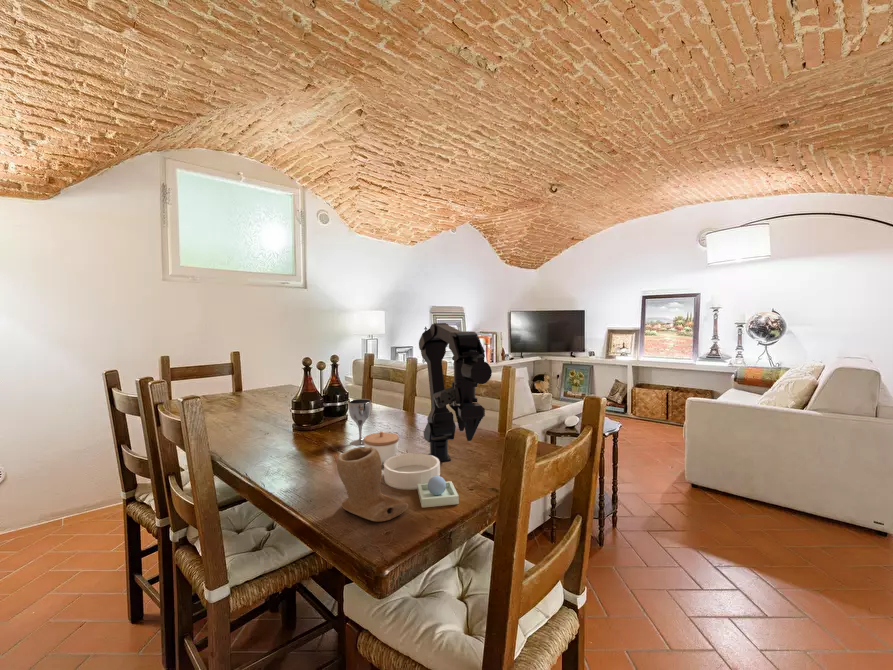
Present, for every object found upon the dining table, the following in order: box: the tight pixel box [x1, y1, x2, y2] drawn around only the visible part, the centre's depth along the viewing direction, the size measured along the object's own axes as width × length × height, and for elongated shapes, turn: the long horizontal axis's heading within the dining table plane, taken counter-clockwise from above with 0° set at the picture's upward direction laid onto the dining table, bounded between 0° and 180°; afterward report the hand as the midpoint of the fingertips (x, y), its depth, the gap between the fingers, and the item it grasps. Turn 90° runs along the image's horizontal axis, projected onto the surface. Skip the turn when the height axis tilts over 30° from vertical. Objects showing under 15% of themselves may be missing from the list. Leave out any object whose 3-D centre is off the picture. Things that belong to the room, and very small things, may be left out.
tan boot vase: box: [336, 446, 409, 522], centre depth 96 cm, size 15×12×15 cm
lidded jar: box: [363, 431, 400, 466], centre depth 129 cm, size 11×11×9 cm
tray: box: [417, 480, 460, 509], centre depth 104 cm, size 9×9×2 cm
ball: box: [428, 476, 447, 495], centre depth 104 cm, size 5×5×5 cm
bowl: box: [383, 452, 441, 491], centre depth 116 cm, size 15×15×4 cm
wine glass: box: [347, 398, 372, 447], centre depth 149 cm, size 8×8×15 cm
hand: (465, 435), depth 112 cm, fingers open, 9 cm apart
